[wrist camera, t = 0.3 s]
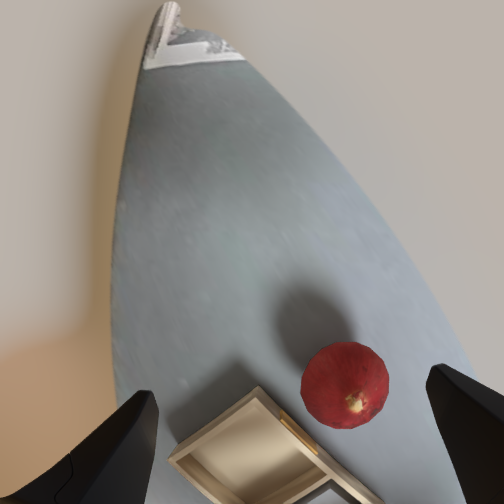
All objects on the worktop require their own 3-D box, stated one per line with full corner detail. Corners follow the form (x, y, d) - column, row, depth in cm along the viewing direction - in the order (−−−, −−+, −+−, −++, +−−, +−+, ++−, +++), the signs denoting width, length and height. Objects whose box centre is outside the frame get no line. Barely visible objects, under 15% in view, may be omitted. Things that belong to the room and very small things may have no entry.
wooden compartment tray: (386, 501, 20) (395, 520, 17) (307, 548, 20) (309, 569, 17) (260, 383, 23) (257, 396, 20) (177, 444, 23) (165, 461, 19)
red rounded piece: (386, 369, 22) (428, 399, 14) (333, 420, 22) (352, 470, 14) (338, 319, 23) (365, 332, 15) (282, 372, 23) (282, 410, 15)
